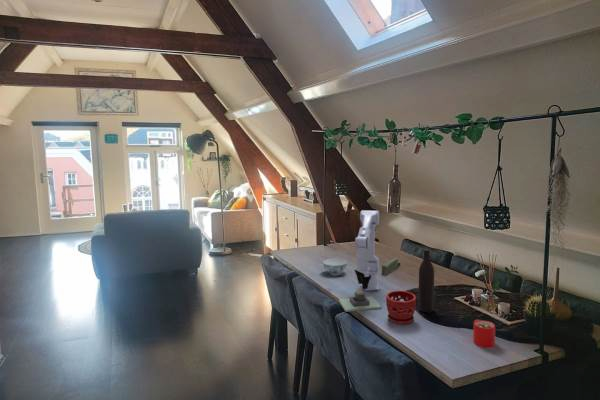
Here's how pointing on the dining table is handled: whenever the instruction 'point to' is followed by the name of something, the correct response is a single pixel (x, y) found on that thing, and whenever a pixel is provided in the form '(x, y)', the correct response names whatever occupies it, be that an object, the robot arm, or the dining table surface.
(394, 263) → the handheld radio
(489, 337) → the red cylinder
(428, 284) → the wine bottle
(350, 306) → the end holder
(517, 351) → the dining table surface
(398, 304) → the plant pot
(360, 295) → the connector plug
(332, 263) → the chinaware
